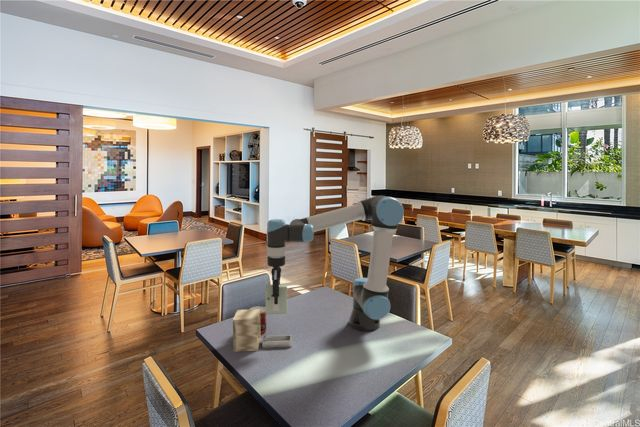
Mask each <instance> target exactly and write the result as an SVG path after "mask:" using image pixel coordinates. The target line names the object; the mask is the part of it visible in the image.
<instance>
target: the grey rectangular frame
mask: <svg viewBox="0 0 640 427" xmlns="http://www.w3.org/2000/svg"><path fill="white" fill-rule="evenodd" d="M261 342H262V344H261V345H262V346H261V347H262V349H268V348H292V347H293V335H292V334H278V335H277V334H276V335H274V334H273V335H263V337H262V341H261Z"/></svg>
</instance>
